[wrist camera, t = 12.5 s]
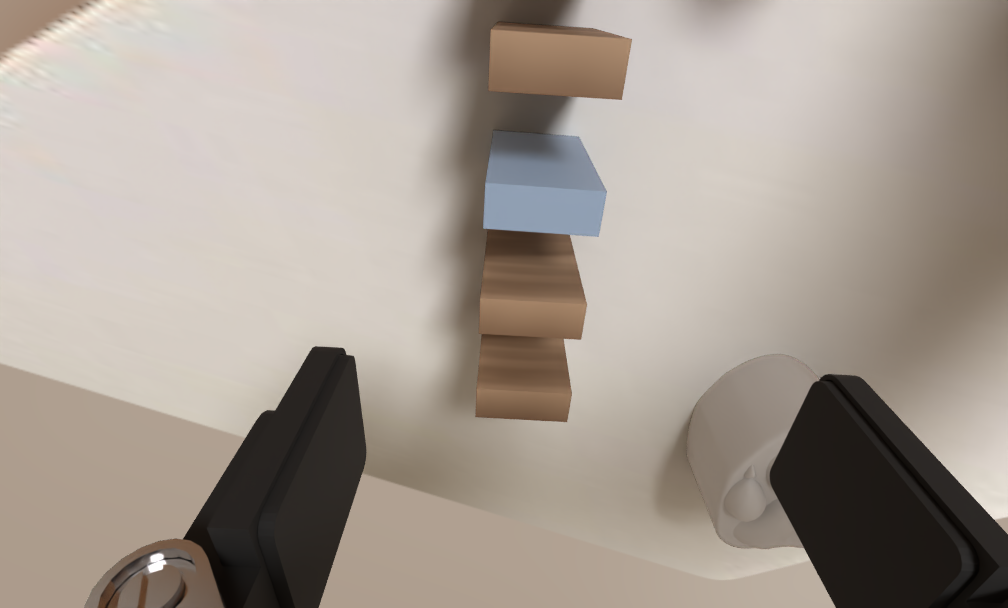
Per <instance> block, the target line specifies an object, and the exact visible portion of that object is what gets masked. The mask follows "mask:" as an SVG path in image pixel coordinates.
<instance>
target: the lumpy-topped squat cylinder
mask: <svg viewBox="0 0 1008 608" xmlns="http://www.w3.org/2000/svg"><path fill="white" fill-rule="evenodd" d="M816 381H819V378H818V377H817V376H816V375H815V374H814V372H813V371H812V370H811V369H810V368H809V367H808V366H806V365H805V364H804V363H802V362H801V361H799V360H797V359H795V358H793V357H790V356H787V355H780V354H772V355H764V356H760V357H757V358H754V359H751V360H749V361H747V362H745V363H743V364H741V365H739V366H737V367H735V368H733V369H732V370H730V371H729V372H727V373H726V374H724V375H723V376H722V377H721V378H720V379H719V380H717V381H716V382H715V383H714V384H713V385H712V386H711V387H710V388H709V389H708V390H707V391H706V392H705V394H704V395H703V396H702V397H701V398H700V399H699V401H698V402H697V404H696V406H695V408H694V411H693V414H692V417H691V421H690V425H689V430H688V436H687V450H686V451H687V458H688V461H689V463H690V466H691V469H692V471H693V474H694V476H695V479H696V481H697V484H698V487H699V489H700V492H701V494H702V497H703V499H704V502H705V505H706V507H707V510H708V512H709V515H710V517H711V520H712V522H713V525H714V528H715V530H716V533H717V535H718V536H719V537H720V539H722V540H723V541H724V542H725V543H727V544H729V545H731V546H733V547H738V548H759V549H769V548H775V547H787V546H789V547H799V548H804V547H803V545H802V543H801V541H800V539H799V538H798V536H797V534H796V532H795V530H794V528H793V526H792V524H791V523H790V521H789V519H788V517H787V515H786V513H785V511H784V509H783V508H782V506H781V504H780V502H779V500H778V498H777V496H776V494H775V493H774V491H773V489H772V486H771V484H770V477H769V475H770V470H771V467H772V465H773V463H774V461H775V459H776V457H777V455H778V453H779V451H780V449H781V447H782V445H783V443H784V441H785V439H786V437H787V434H788V432H789V430H790V428H791V426H792V424H793V422H794V420H795V418H796V416H797V414H798V412H799V410H800V408H801V406H802V404H803V402H804V400H805V398H806V396H807V394H808V391H809V389H810V387H811V386H812V384H813V383H814V382H816Z"/></svg>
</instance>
